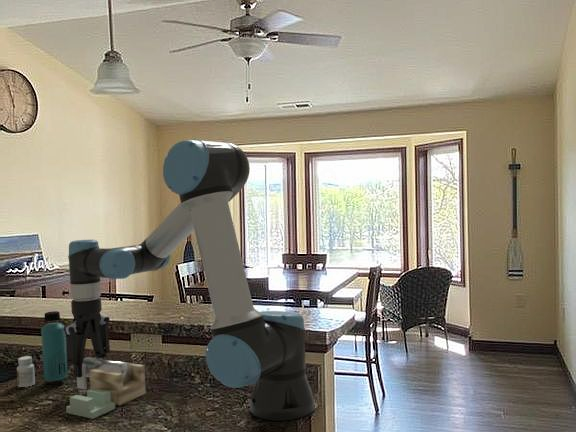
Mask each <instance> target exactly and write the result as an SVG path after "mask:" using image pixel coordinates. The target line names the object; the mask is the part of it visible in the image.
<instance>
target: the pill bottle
mask: <svg viewBox="0 0 576 432" xmlns="http://www.w3.org/2000/svg"><path fill="white" fill-rule="evenodd" d="M32 358H33V357H32V356H29V355H25V356H21V357H18V358H17V360H18V363H17V364H18V366H16V376H17V378H16V381H17V387H18V388H20V387H25V388H30V387H33V386H34V385H35V384H36V379H35V377H36V376H35V375H36V374H35V365H34V364H33V359H32ZM32 385H33V386H32ZM29 386H30V387H29Z"/></svg>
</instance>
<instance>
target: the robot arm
mask: <svg viewBox="0 0 576 432" xmlns="http://www.w3.org/2000/svg"><path fill="white" fill-rule="evenodd" d="M162 165H163V166H162V177H163V180H164V183H165V185H166V187H167V188H168V189H170V191H171V192H173V193H175V194H177V195H178V196H179V201H180V202H179V203H178V204H177V206H176V207H174V209H173V210H172V211H171V212H170V213H169V214H168V215H167V216H166V217H165V218H164V219H163V220H162V221H161V223H159V224H158V225H157V226H156V228H155V229H154V230H153V231H152V232H151V233H150V234H149V235H148V236H147V237H146V238H145V239H144V240H143V241H142V242H141V243H139V244H135V245H133V244H132V245H128V246H119V247H112V248H111V247H110V248H102V247H101V248H100V245H99V241H98V240H97V239H77V240H73V241H70V242H69V244H68V254H67V255H68V257H67V258H68V270H69V282H70V283H69V284H70V285H69V287H70V298H71V299H72V300H71V302H70V303H71V304H70V305H71V306H70V307H71V314H72V316H73V319H72V323H71V324H69V325H68V326H67V325H64V326H65V327H64V332H65V339H66V354H67V364H69V365H73V367H74V369H73V370H74V377H75V378H76V386H77V389H80V390H87V389H88V387H87V377H86V364H83V359H84V358H85V352H86V351H85V350H86V343H87V339H88V338H90V340H91V341H90V342H91V344H92V348H93V352H94V356H95V357H93V358H97V359H103V360H105V358H107V357H108V356H107V355H108V354H109V353H110V351H111V350H110V332H109V325H110V317H109V316H102V314H101V312H102V309H103V308H102V299H101V295H102V288H101V287H102V286H101V278H102V279H103V278H104V279H111V280H122V279H127V278H129V277H130V275H135V274H140V273H145V272H147V273H148V272H155V271H158V270H160V269H163V268H165V267H167V265H168V264H169V263H170V259H171V254H172V252H174V251H175V250H176V249H177V248H178V247H179V246H180V245H181V244H182V243H183V241H185V240H186V239H187V238H188V237H190V235H191V234H193V232H194V235H195V238H196V241H197V245H198V251H199V255H200V259H201V263H202V267H203V272H204V276H205V279H206V285H207V288H208V292H209V293H208V294H209V297H210V301H211V305H212V309H213V314H214V320H213V322H212V324H211V325H210V331H211V332H210V333H211V336H212V338H211V339H210V340H209V342H208V343H207V348H206V350H205V361H206V364H207V367H208V370H209V371H210V373H211V375H212V376H213V377H214V378H215V379H216V380H217V381H219V382H220V383H221V384H222V385H224V386H226V387H228V388H232V389H234V388H235V389H237V388H238V389H239V388H242V387H244V386H248V385H252V384H254V386H253V390H252V394H251V397H250V402H249V406H250V413H251V414H252V415H253V416H254V417H256V418H259V419H262V420H266V421H275V422H276V421H278V422H281V421H282V422H283V421H291V420H298V419H302V418H304V417H306V416H309V415H311V414H312V413H313V411H314V410H315V397H314V395H313V392H312V389H311V385H310V383H309V381H308V380H309V379H308V378H307V372H306V371H307V370H306V369H307V368H306V337H305V336H306V335H305V334H306V333H305V332H306V328H305V322H304V321H305V320H304V319H305V318H304V317H303V315H301V314H300V313H298V312H291V311H281V310H279V311H278V310H264V311H258V310H256V309H255V307H254V304H253V300H252V295H251V291H250V287H249V282H248V279H247V276H246V275H247V274H246V271H245V267H244V263H243V258H242V254H241V249H240V245H239V242H238V238H237V234H236V230H235V225H234V221H233V217H232V213H231V209H230V205H229V202H230V201H231V200H233V198H235V197H236V196H237V195H238V194H239V192H240V191H242V189H243V188H244V187H245V185H246V183H247V181H248V179H249V175H250V171H251V170H250V161H249V158H248V156H247V155H246V153H245V152H244V150H243V149H241V148H240V147H239V146H238V145H236V144H234V143H231V142H228V141H213V140H211V141H210V140H201V139H185V140H181V141H178V142H177V143H175V144H174V145H172V147H171V148H170V149H169V150H168V152H167V154H166V156H165V158H164V161H163V164H162Z"/></svg>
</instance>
